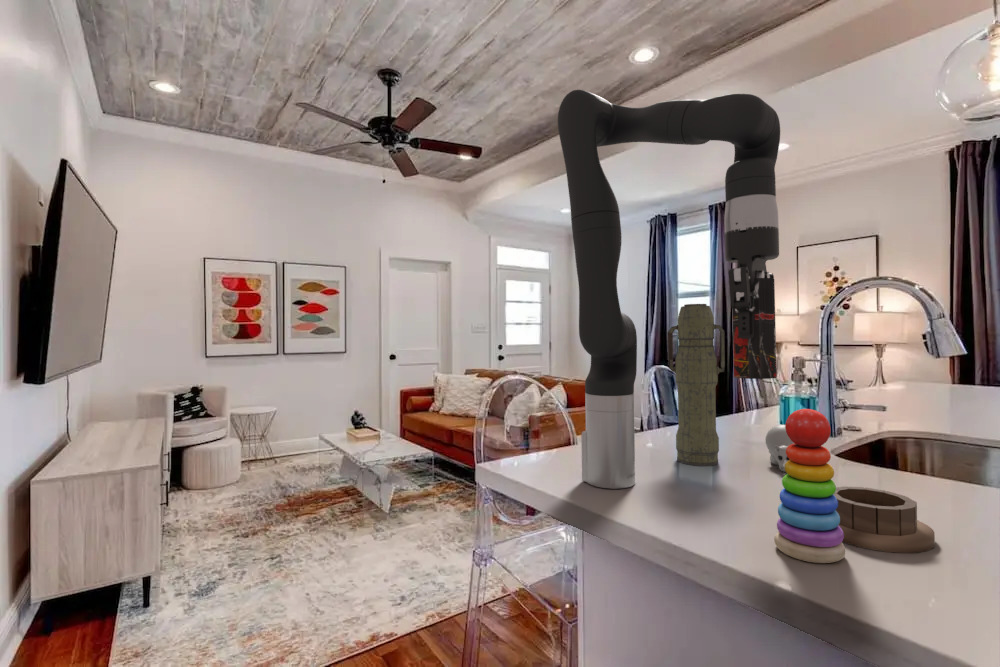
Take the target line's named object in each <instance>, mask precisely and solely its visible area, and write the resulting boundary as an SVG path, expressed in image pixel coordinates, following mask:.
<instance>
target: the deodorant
mask: <svg viewBox="0 0 1000 667" xmlns="http://www.w3.org/2000/svg"><path fill="white" fill-rule="evenodd" d="M758 282H759V289H760V290H759V291H760V297H759V298H758V299H756V305H755V312H754V313H752V314H755V337H754V338H751V339H741V338H739V336H738V314H739V313H736V311H735V309H732V308H731V310H732V312H731V313H732V314H731V315H732V316H731V317H732V319H731V320H732V349H733V350H732V351H733V354H732V356H733V378H735V379H744V380H745V379H746V380H747V379H750V380H764V379H765V380H766V379H767V380H770V379H777V377H778V376H777V374H778V373H777V372H778V371H777V346H776V345H777V339H776V338H777V337H776V336H777V334H776V328H777V327H776V301H775V300H776V294H775V277H774V278H754V283H753V284H752V285H750V292H752V291H754V289H755V285H756V284H757V283H758ZM738 284H739V283H738ZM740 293H742V292H740ZM742 300H745V299H742Z"/></svg>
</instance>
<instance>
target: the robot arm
mask: <svg viewBox="0 0 1000 667" xmlns="http://www.w3.org/2000/svg"><path fill="white" fill-rule="evenodd" d="M557 130H558V135H559V141H560V146H561V150H562V155H563V159H564V160H563V161H564V164H565V172H566V180H567V188H568V189H567V190H568V196H569V206H570V219H571V220H570V221H571V232H572V241H573V249H574V255H575V266H576V274H577V280H578V335H579V336H578V337H579V340H580V341H579V342H580V343H581V346H582V347H583V349H584V351H585V352H586V353H587V354H589V356H590V367H589V372H588V374H587V376H586V378H585V381H584V392H585V393H584V395H585V399H584V400H585V401H584V402H585V407H584V408H585V430H583V431H581V440H580V442H581V481H582V482H586V483H587V484H588V485H591V486H593V487H597V488H603V489H613V490H615V489H617V490H618V489H628V488H630V487H633V486H634V485H635V484H636V467H635V466H636V459H635V458H636V457H635V456H636V455H635V454H636V450H635V446H636V444H635V440H636V439H635V436H636V435H635V393H634V392H635V381H636V378H637V369H638V368H637V366H638V364H637V363H638V362H637V361H638V360H637V358H638V337H637V329H636V325H635V323H634V321H633V320H632V319H631V317H629V315H627V314H626V313H624V312H622V311H621V305H620V299H619V293H618V285H617V284H618V283H617V279H618V277H617V276H618V270H619V269H618V268H619V263H620V257H621V250H622V227H621V216H620V208H619V204H618V201H617V198H616V195H615V192H614V190H613V188H612V186H611V184H610V181H609V180H608V177H607V176H606V174H605V172H604V170H603V167H602V164H601V162H600V157H599V152H598V147H600V148H601V147H606V146H612V145H613V146H614V145H619V144H627V143H628V144H629V143H653V144H655V143H657V144H668V145H671V144H672V145H686V146H689V145H690V146H697V145H704V144H706V143H708V142H710V141H721V142H727V143H730V144H732V145H733V146H734V147H733V148H734V155H733V156H734V157H733V158H734V159H733V163H731V165H730V166H728V168H727V169H726V172H725V177H724V178H725V179H724V182H725V184H724V185H725V186H724V187H725V189H724V190H725V192H724V193H725V208H724V216H723V217H724V220H723V221H724V223H723V224H724V256H725V260H726V261H727V262H728V263H731V264H733V263H734V264H736V267H734V268H729V269H728V283H729V285H728V286H729V296H730V307H731V310H732V309H735V311H736V313H739V314H738V336H739V338H741V339H751V338H754V337H755V314H752V313H754V312H755V305H756V299H758V298H759V297H760V291H759V290H760V289H759V282H758V283H757V284H756V285H755V289H754V291H752V292H750V285H752V284H753V283H754V278H774V279H775V276H774V274H773V273H771V272H769V271H767V261H772V260H776V259H777V258H778V257H779V256H780V239H779V238H780V235H779V234H780V232H779V230H780V229H779V209H778V203H777V197H776V196H777V191H776V189H777V188H776V187H777V186H776V171H775V168H776V164H777V163H776V162H777V159H778V154H779V149H780V148H779V147H780V141H781V123H780V118H779V115H778V114H777V111H776V110H775V109H774V108H773V107H772V106H770V105H769V104H768V103H767V102H765V101H764V100H763V99H762V98H761V97H759V96H757V95H754V94H751V93H743V92H742V93H740V92H739V93H736V92H735V93H729V94H724V95H719V96H714V97H711V98H708V99H707V98H706V99H670V100H664V101H663V100H662V101H659V102H655V103H653V104H650V105H647V106H642V107H640V106H639V107H631V106H624V105H620V104H619V105H618V104H615V103H613V102H612V103H611V102H609V101H608V100H607V99H605V98H604V97H601V96H599V95H597V94H595V93H593V92H590V91H588V90H585V89H575V90H574V89H573V90H571V91H570V92H569V93H567V94H566V95H565V96H564V98H563V99H562V100H561V103H560V105H559V108H558V112H557ZM738 283H739V284H738ZM740 292H742V293H740ZM742 299H745V300H742Z"/></svg>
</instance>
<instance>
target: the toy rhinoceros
mask: <svg viewBox="0 0 1000 667" xmlns="http://www.w3.org/2000/svg"><path fill="white" fill-rule="evenodd" d="M791 444H795V443H794V442H792V441H791V439H790V438H789V437H788V435H787V433H786V429H785V424H777V425H774V426H772V427H771V428H770V429H769V430H768V431H767V433H766V435H765V445H766V448H767V450H768V453H769V454H770V457H769V461H770V463H771V464H773V465H775V466H778V467H779V469H780V470H781V471H782V472H784V473H786V471H785V464H786V462H787V461H789V460H790V459H789V458H788V457H787V455H786V449H787V447H788V446H789V445H791Z"/></svg>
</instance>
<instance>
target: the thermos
mask: <svg viewBox="0 0 1000 667" xmlns="http://www.w3.org/2000/svg"><path fill="white" fill-rule="evenodd" d="M716 329H718V331H719V334H720V335H719V339H720V341H719V342H720V346H719V348H720V351H719V352H720V353H719V354H720V366H718V358H717V355H716V352H715V345H714V339H715V330H716ZM675 330H676V331H677V339H678V346H677V353H676V356H675V359H674V345H673V344H674V343H673V342H674V338H673V335H674V334H673V333H674V332H675ZM725 332H726V331H725V330H724V329H723V328H722V326H721V325H720V324H717V325H716V324H715V317H714V314H713V311H712V308H711V306H710V305H707V303H690V304H689V303H688V304H684V306H681V307H680V310H679V313H678V317H677V325H675V326H674V325H672V326H671V327H670V329H669V330H668V332H667V348H668V349H667V350H668V352H667V353H668V369H669V370H670V371H671V372H673V373H674V374H675V383H676V385H677V416H678V419H677V420H678V425H677V426H678V428H677V430H676V434H675V449H676V453H677V454H676V455H677V457H676V461H677V462H679V463H681V464H684V465H689V466H698V467H709V466H710V467H711V466H715V465H718V464H719V455H718V454H719V452H720V438H719V435H718V432H717V412H716V411H717V410H716V409H717V407H716V406H717V405H716V404H717V403H716V397H717V396H716V386H718V383H719V380H718V379H719V378H718V377H719V376H718V375H719V374H720V373H724V372H725V368H726V353H725V352H726V349H725V348H726V346H725V345H726V341H725V338H726V337H725ZM674 361H675V366H674Z"/></svg>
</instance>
